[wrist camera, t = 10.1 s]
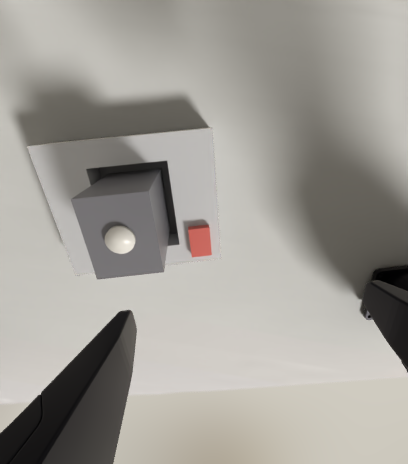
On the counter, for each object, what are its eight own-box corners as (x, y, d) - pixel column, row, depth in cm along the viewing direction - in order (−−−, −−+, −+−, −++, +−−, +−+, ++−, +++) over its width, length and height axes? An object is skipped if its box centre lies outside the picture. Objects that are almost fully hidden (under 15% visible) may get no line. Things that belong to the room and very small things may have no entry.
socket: (209, 127, 18) (213, 128, 15) (217, 244, 22) (222, 262, 19) (47, 143, 18) (20, 147, 15) (86, 259, 22) (72, 279, 19)
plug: (161, 168, 19) (148, 192, 12) (170, 226, 21) (163, 274, 14) (109, 173, 19) (67, 201, 12) (124, 231, 21) (95, 282, 14)
